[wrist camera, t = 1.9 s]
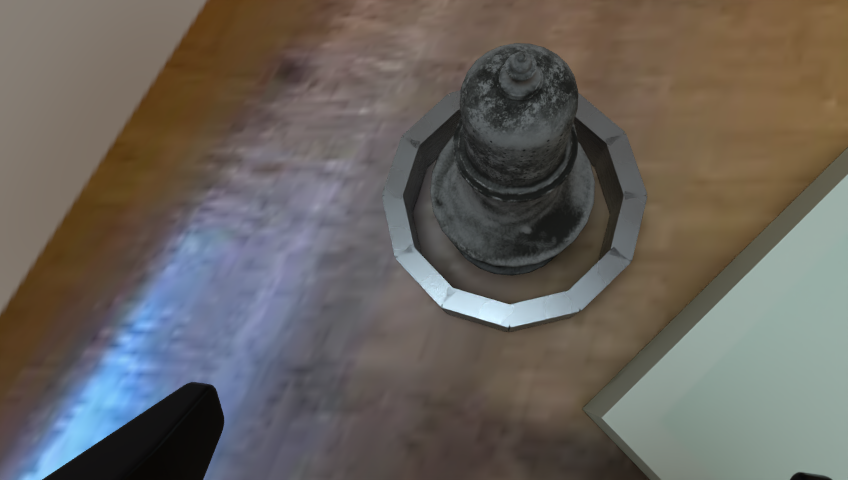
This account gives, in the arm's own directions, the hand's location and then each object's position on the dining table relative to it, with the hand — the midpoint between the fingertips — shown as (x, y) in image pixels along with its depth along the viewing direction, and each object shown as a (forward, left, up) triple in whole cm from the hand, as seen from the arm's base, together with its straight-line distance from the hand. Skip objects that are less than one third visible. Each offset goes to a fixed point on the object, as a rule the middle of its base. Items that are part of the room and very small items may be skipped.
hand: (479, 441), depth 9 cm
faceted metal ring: (+5, -6, -13) cm, 15 cm away
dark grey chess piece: (+5, -6, -13) cm, 15 cm away
